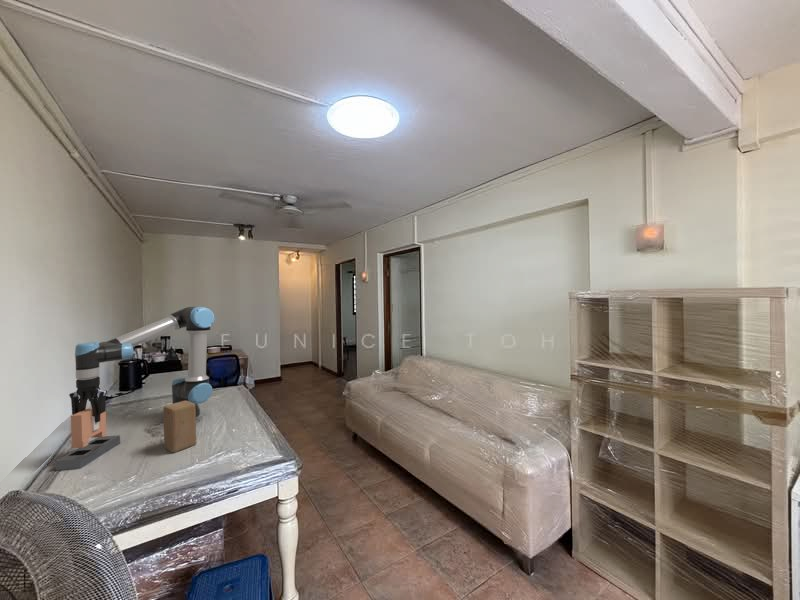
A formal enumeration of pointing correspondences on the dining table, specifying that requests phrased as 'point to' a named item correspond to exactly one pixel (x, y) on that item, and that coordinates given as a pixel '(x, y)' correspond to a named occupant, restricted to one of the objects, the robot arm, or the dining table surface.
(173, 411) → the wooden block
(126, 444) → the dining table surface
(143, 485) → the dining table surface
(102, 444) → the gray slotted base
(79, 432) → the orange upright block
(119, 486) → the dining table surface
